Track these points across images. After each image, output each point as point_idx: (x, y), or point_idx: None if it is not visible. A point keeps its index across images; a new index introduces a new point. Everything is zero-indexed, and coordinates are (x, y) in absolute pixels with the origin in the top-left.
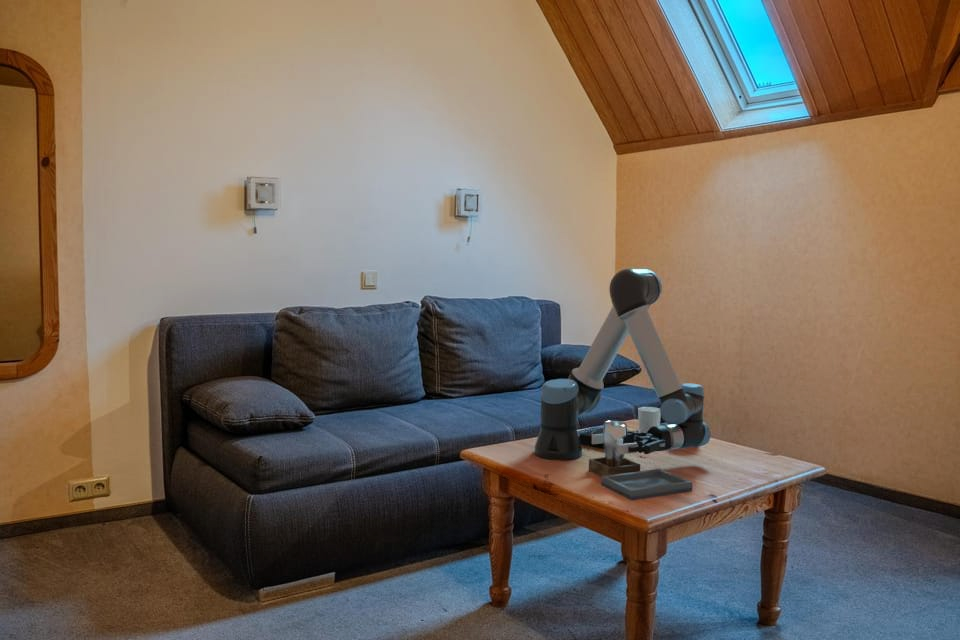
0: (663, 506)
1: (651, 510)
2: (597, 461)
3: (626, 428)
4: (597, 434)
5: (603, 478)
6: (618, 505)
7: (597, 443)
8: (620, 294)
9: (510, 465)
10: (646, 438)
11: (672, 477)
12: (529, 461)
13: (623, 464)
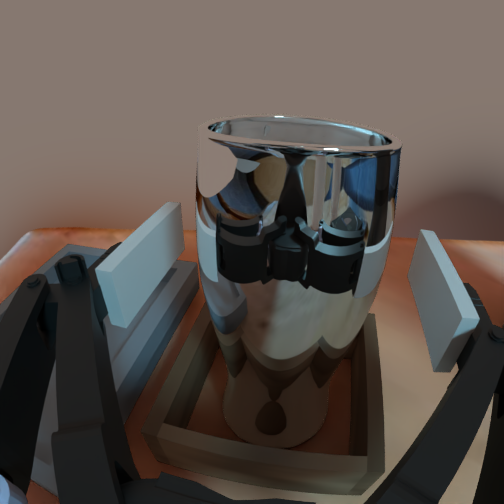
0: (6, 279)
1: (26, 255)
2: (361, 349)
3: (202, 171)
4: (437, 247)
5: (185, 264)
6: (90, 238)
7: (413, 292)
8: None
9: (454, 245)
10: (79, 427)
11: None
12: (486, 281)
13: (235, 398)
